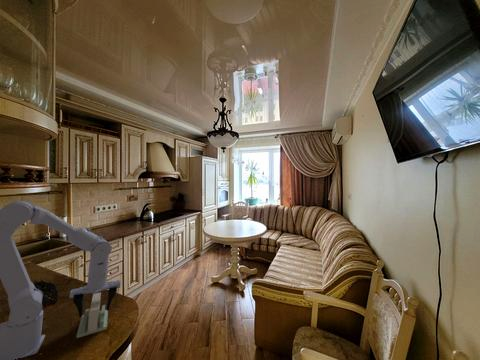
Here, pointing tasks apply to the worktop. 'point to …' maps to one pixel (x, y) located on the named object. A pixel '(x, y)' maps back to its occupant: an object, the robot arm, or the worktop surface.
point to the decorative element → (48, 288)
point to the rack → (85, 319)
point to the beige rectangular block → (94, 313)
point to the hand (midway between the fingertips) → (94, 312)
